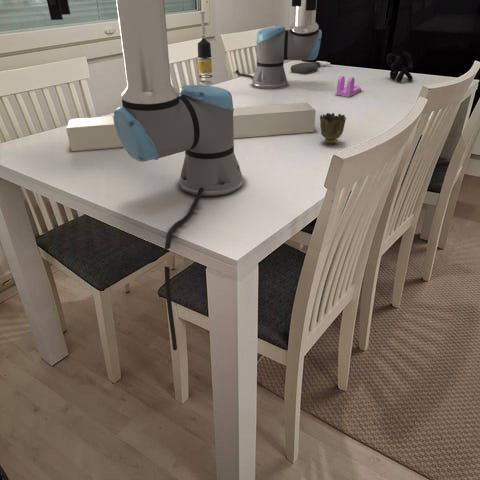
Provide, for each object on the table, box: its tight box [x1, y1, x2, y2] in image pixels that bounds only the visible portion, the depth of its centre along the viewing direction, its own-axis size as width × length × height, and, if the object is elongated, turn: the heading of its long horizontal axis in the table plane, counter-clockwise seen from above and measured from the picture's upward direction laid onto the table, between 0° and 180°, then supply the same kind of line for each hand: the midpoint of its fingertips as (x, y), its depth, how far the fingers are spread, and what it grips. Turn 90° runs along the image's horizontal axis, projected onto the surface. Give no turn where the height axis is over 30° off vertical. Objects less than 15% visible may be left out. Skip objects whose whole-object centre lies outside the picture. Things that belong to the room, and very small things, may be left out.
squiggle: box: [385, 51, 414, 83], centre depth 198 cm, size 11×10×15 cm
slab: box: [65, 102, 317, 152], centre depth 138 cm, size 75×9×7 cm, turn 101°
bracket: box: [335, 75, 362, 98], centre depth 181 cm, size 13×6×7 cm, turn 143°
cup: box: [319, 112, 347, 145], centre depth 131 cm, size 8×7×8 cm
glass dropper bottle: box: [197, 11, 214, 86], centre depth 181 cm, size 6×6×30 cm
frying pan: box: [289, 60, 331, 75], centre depth 223 cm, size 3×11×24 cm
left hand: (61, 17), depth 117 cm, fingers open, 13 cm apart
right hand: (303, 8), depth 126 cm, fingers open, 13 cm apart
